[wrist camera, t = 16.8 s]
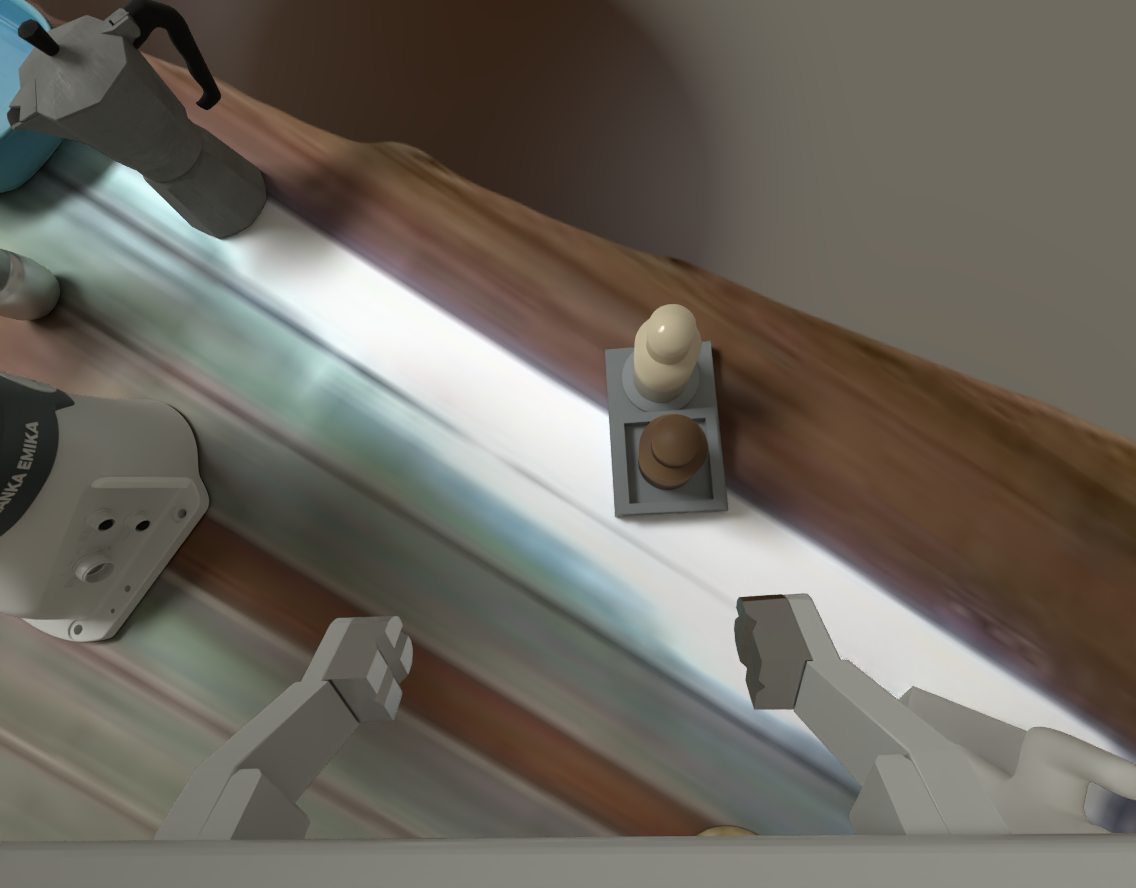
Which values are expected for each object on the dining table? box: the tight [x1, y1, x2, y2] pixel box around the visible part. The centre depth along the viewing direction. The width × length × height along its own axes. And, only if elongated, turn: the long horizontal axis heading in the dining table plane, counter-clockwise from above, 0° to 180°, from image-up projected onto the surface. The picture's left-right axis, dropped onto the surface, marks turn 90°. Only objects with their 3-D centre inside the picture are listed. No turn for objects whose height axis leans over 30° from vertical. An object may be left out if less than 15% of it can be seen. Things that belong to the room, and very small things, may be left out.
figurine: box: [899, 686, 1136, 834], centre depth 28 cm, size 7×9×15 cm
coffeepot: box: [7, 0, 267, 238], centre depth 43 cm, size 15×9×18 cm, turn 131°
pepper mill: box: [638, 414, 708, 490], centre depth 35 cm, size 5×5×10 cm
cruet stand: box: [605, 304, 728, 517], centre depth 36 cm, size 15×9×12 cm, turn 2°
